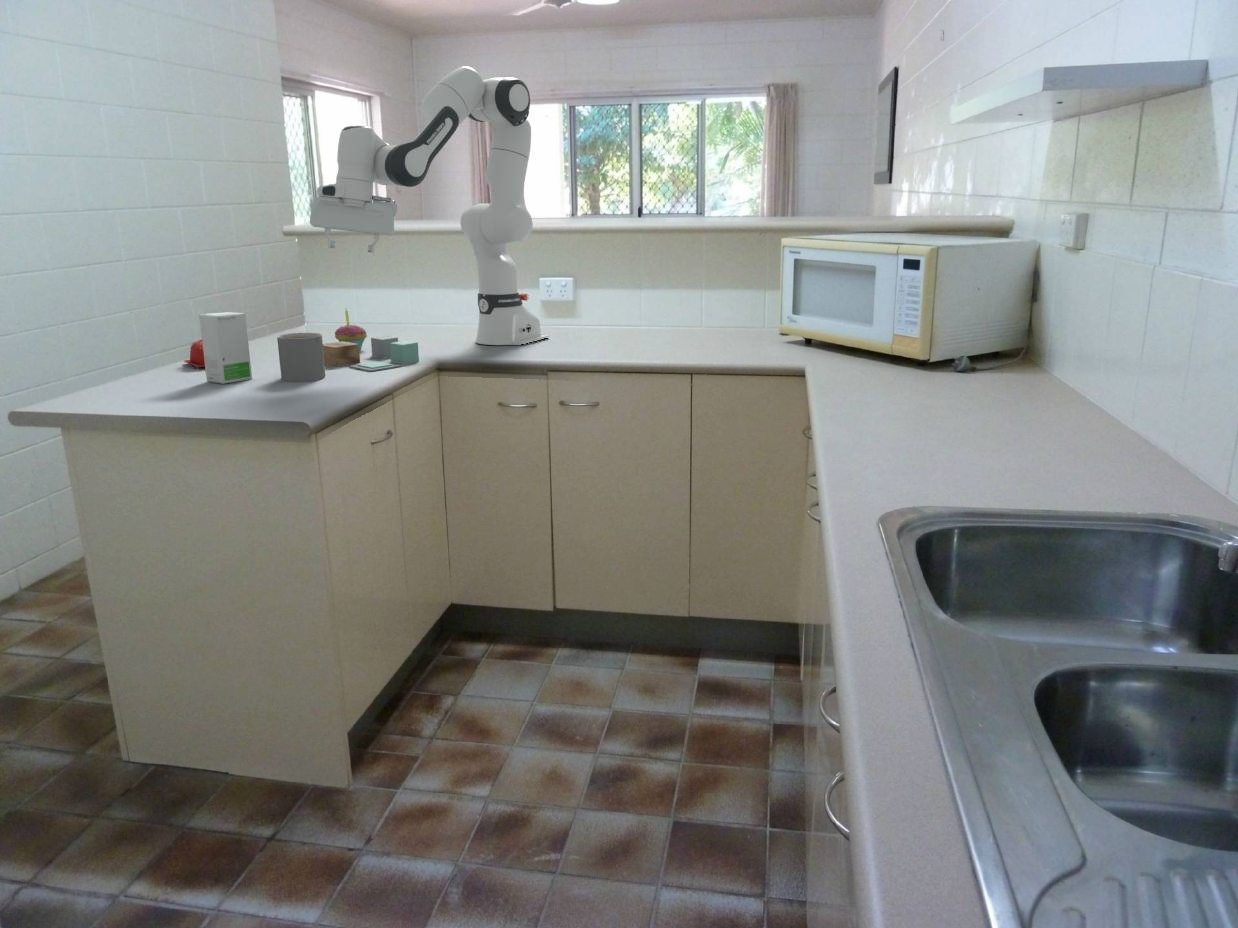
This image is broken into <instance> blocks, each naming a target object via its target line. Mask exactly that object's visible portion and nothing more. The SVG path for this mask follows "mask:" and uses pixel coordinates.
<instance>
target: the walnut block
mask: <svg viewBox="0 0 1238 928" xmlns="http://www.w3.org/2000/svg"><path fill="white" fill-rule="evenodd" d="M323 353H324V365H327V364H328V365H327V366H332V365H334V366H333V367H342V366H341V365H343V366H350V365H357V364H361V357H360V351H359V344H355V343H349V342H344V341H342V342H339V341H335V342H329V343H323Z"/></svg>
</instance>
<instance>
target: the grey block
mask: <svg viewBox="0 0 1238 928" xmlns="http://www.w3.org/2000/svg"><path fill="white" fill-rule="evenodd" d="M393 342H399V337H397V336H390V335H382V336H376V337H375V336H374V337H371V338H370V343H371V346H370V347H371V356H372V357H374V356H376V357H375V358H379V357H380V359H387V358H388V357H389V358H391V350H390V343H393ZM389 358H388V359H389Z"/></svg>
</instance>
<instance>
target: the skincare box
mask: <svg viewBox="0 0 1238 928" xmlns="http://www.w3.org/2000/svg"><path fill="white" fill-rule="evenodd" d="M246 317H247V316H246V313H245V312H233V311H231V312H230V311H226V312H212V313H211V312H210V313H200V314H198V318H199V325H200V332H201V340H202V343H203V352H204V360H205V368H204V369H205V377H206V381H207V382H209V383H213V384H229V383H235V382H243V381H249V380H252V379H253V375H252V366H251V355H250V347H249V346H250V345H249V337H248V328H247V327H248V326H247V318H246Z"/></svg>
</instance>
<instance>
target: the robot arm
mask: <svg viewBox="0 0 1238 928" xmlns="http://www.w3.org/2000/svg"><path fill="white" fill-rule="evenodd" d="M530 108H531V96H530V91H529V89H528V86H527V85H526V83H525V82H524V81H522V80H521V79H519V78H516V77H511V76H508V77H492V78H488V79H483V77H482V76H481V74H480V73H479V72H478V71H477V70H475V69H474V68H473V67H470V66H466V65H465V66H460V67H457V68H456V69H453V71H450V72H449V73H448V74H446V75H445V76H444V77H443V78H441V80H439V81H437V83H436V84H435V85H433V86H432V88H431V89H430V90H429V91H428V92H427V93H426V95H425V96H424V98H423V100H422V101H421V113H422V116H423V118H424V121H425V122H426V125H425V126H424V127H423V128H422V129H421V130H420V132H419V133H418V134H417V135H416V136H415V138H413V139H412V140H411V141H408V142H405V143H401V144H389V143H388V142H386V141H385V140H383V139H382V138H381V137H380V136H379V135H378V134H377V133H376V132H375V130H374V128H373V127H371V126H369V125H347V126H344V127H343V129H342V130H341V132H340V134H339V138H338V143H337V144H338V145H337V155H336V156H337V158H336V159H337V160H336V161H337V166H338V168H337V174H336V178H335V183H332V184H331V183H330V184H326V185H320V186H318V187H317V189H316V195H317V197H315V198H314V200H313V201H312V205H311V208H310V215H309V216H310V217H309V224H310V225H311V227H313V228H320V229H324V235H325V236H326V239H327V241H328V248H329V249H335V247H336V246H335V244H336V241H335V240H332V239H331V236H330V234H331V233H332V232H331V231H332V230H338V231H347V232H353V233H354V232H355V233H363V234H370V235H372V234H373V239H374V240H373V242H372V244H368V245H367V248H368V249H367V253H373V254H374V252H375V246H376V244H377V243H378V241H379V240H380V235H381V236H388V237H389V236H390V237H391V236H392V235H393V234H394V233H395V216H396V215H397V209H398V207H397V206H398V205H397V203H396V201H395V200H393V199H392V198H391V197H388V196H387V197H386V196H385V197H383V196H378V195H373V194H374V193H373V192H374V183H375V184H378V185H382V186H401V187H408V188H412V187H413V188H414V187H416V186H418V185H420V184H421V183H422V182H423V181H424V180H425V178H426V177H427V174H428V171H429V169H430V166H431V163H432V162H433V161H434V159H435V157H436V156H437V155H438V154H439V152H440V151H441V150H442V148H443V147H444V146H445V145H446V144H447V143H448V141H449V140H450V139H451V138H452V136H453V135H454V134H455V132H457V131H456V130H457V129H458V127H459V126H460V125H461V124H462V123H463V122H464V121H465V120H466V119H467V118H468V119H471V120H472V121H476V122H479V123H485V122H488V123H489V122H490V123H491V124H492V129H493V133H492V134H493V136H492V138H491V139H492V140H491V144H490V148H489V152H488V158H487V164H486V169H485V174H484V179H485V182H486V184H487V185H488V187H489V189H490V202H489V203H484V202H483V203H477V204H474V205H471V206H469V207H467V208H465V209H464V211H463V212H462V214H461V216H460V229H461V231H462V233H463V234H464V236H465V237H466V238H467V239H468V241H469V243H470V246H471V248H472V251H473V255H474V257H475V261H476V267H477V277H478V293H477V306H478V310H479V311H478V322H477V333H476V338H475V343H476V344H478V345H479V344H480V345H485V346H486V345H489V346H490V345H491V346H522V345H521V344H524V345H527V344H526V343H528V344H530V343H529V342H532V343H534V342H533V341H535V340H540V339H542V338H546V337H549V335H548V334H546V333H542V331H541V323H540V319H539V318H538V317H537V316H536V315H535V314H534V313H532V312H531V311H530V310H528V309H527V307H525V306H524V305H523V304H524V303H523V301H525V302H527V301H528V300H529V299H530V298H529V297H530V295H529V294H528V293H521V294H520V293H519V292H518V267H517V264H516V263H515V261H514V259H512V257H511V256H510V254H509V251H508V248H507V245H515V244H518V243H522V242H525V241H527V239H529V237H530V235H531V234H532V231H533V227H534V226H533V218H532V215H531V214H530V212H529V211H528V209H527V207H526V202H525V183H526V182H525V181H526V175H527V171H528V163H529V160H530V155H531V153H530V152H531V145H532V144H531V143H532V126H531V123H530V122H529V121H528V120H527V119H528V117H529V114H530ZM443 149H444V148H443ZM549 338H550V337H549Z"/></svg>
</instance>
